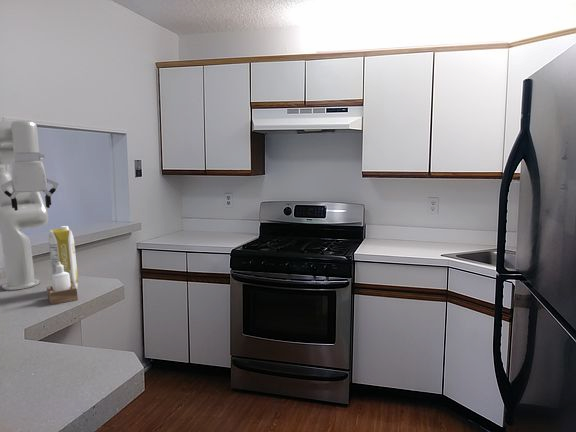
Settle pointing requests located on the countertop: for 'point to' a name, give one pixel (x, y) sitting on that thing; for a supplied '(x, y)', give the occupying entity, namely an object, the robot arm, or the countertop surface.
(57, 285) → the eye dropper bottle
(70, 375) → the countertop surface
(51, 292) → the bottle holder
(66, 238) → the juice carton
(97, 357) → the countertop surface
